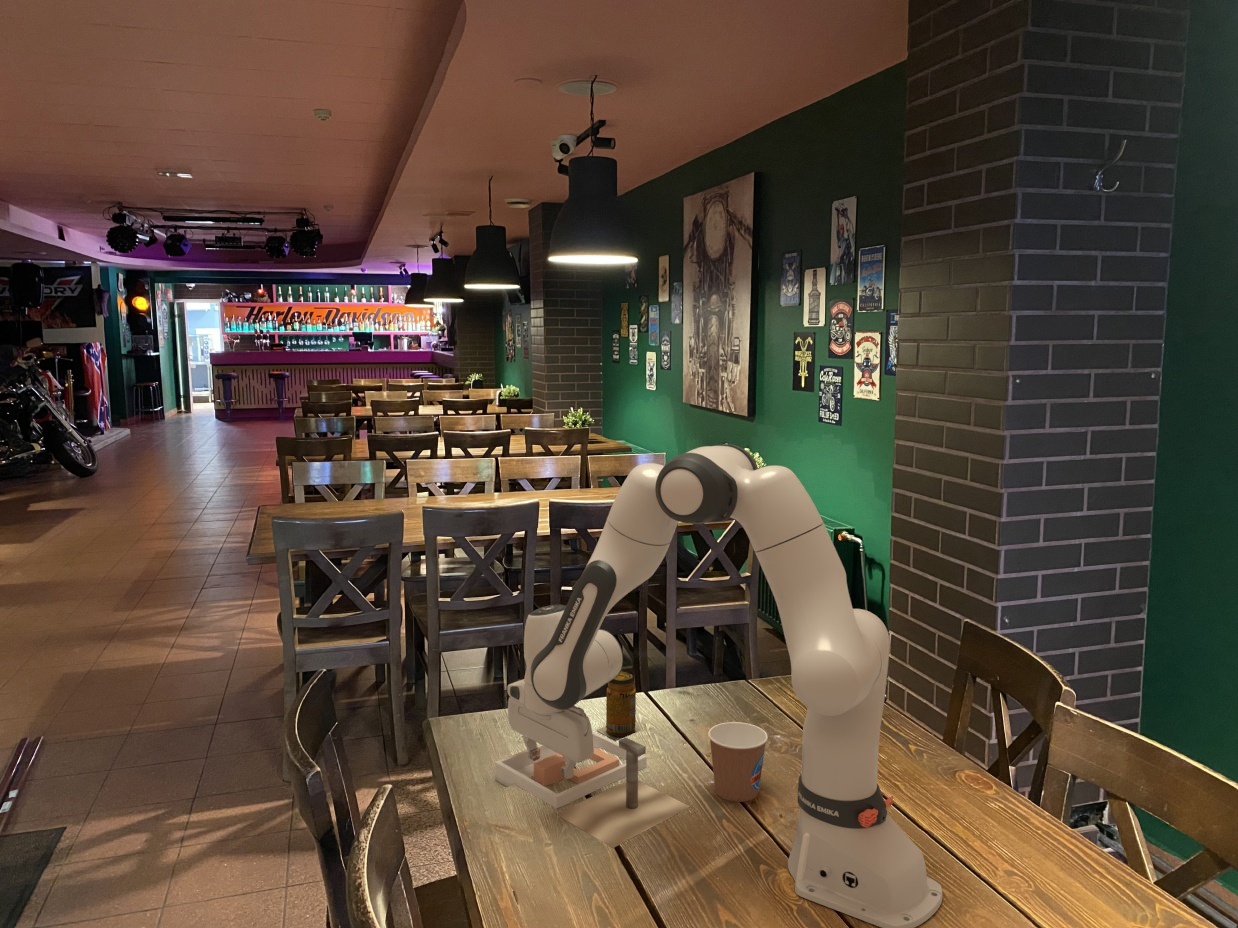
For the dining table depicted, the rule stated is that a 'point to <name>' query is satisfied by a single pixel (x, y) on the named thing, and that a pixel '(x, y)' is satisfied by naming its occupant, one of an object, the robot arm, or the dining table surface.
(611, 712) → the condiment
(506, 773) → the tray
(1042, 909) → the dining table surface
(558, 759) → the square frame with stem
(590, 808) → the board
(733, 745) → the coffee cup
